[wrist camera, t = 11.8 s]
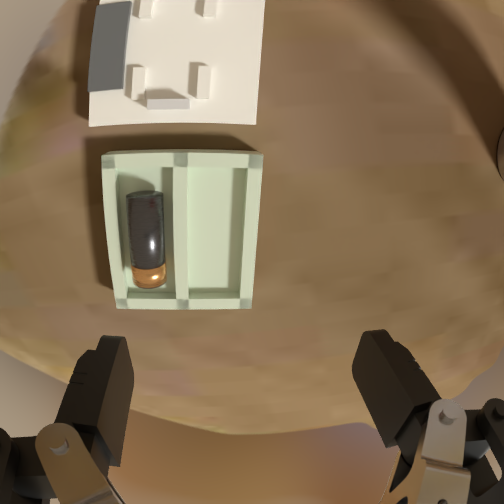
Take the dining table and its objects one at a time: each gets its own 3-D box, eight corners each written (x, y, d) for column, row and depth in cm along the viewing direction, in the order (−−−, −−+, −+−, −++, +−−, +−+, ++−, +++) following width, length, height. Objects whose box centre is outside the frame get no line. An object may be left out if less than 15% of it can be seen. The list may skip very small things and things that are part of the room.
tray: (257, 151, 28) (263, 154, 26) (247, 294, 34) (251, 308, 32) (109, 151, 26) (101, 155, 23) (122, 294, 32) (116, 308, 29)
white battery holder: (261, -13, 21) (271, -31, 17) (250, 123, 27) (259, 125, 23) (111, -12, 19) (98, -28, 15) (98, 125, 24) (81, 128, 21)
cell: (158, 188, 27) (168, 197, 24) (161, 274, 30) (171, 290, 28) (122, 192, 25) (128, 201, 23) (130, 280, 29) (137, 297, 26)
